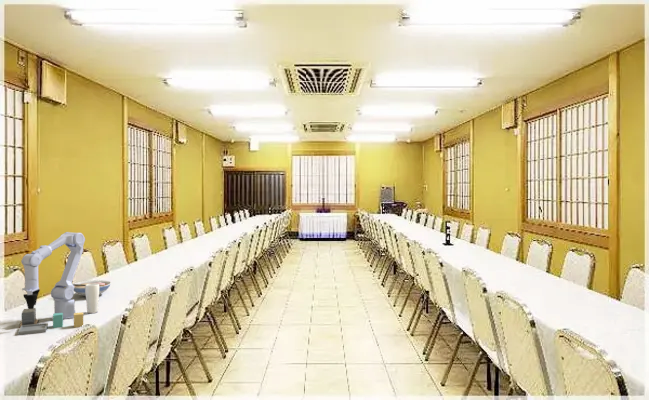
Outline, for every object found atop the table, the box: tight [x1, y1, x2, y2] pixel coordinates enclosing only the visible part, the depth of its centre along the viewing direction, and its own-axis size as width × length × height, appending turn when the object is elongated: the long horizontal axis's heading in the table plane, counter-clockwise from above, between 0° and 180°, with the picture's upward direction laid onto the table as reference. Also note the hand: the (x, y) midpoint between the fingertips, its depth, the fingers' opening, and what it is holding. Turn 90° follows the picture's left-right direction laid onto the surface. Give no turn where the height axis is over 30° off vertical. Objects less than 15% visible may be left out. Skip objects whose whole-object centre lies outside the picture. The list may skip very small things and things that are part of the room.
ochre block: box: [73, 312, 84, 328], centre depth 239 cm, size 4×4×6 cm
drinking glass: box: [85, 283, 100, 314], centre depth 264 cm, size 7×7×15 cm
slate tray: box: [17, 322, 49, 336], centre depth 231 cm, size 11×11×2 cm
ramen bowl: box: [72, 279, 112, 298], centre depth 304 cm, size 25×23×8 cm
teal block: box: [52, 313, 64, 329], centre depth 238 cm, size 4×4×6 cm
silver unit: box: [18, 307, 39, 329], centre depth 241 cm, size 7×10×7 cm
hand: (32, 306), depth 238 cm, fingers open, 7 cm apart
